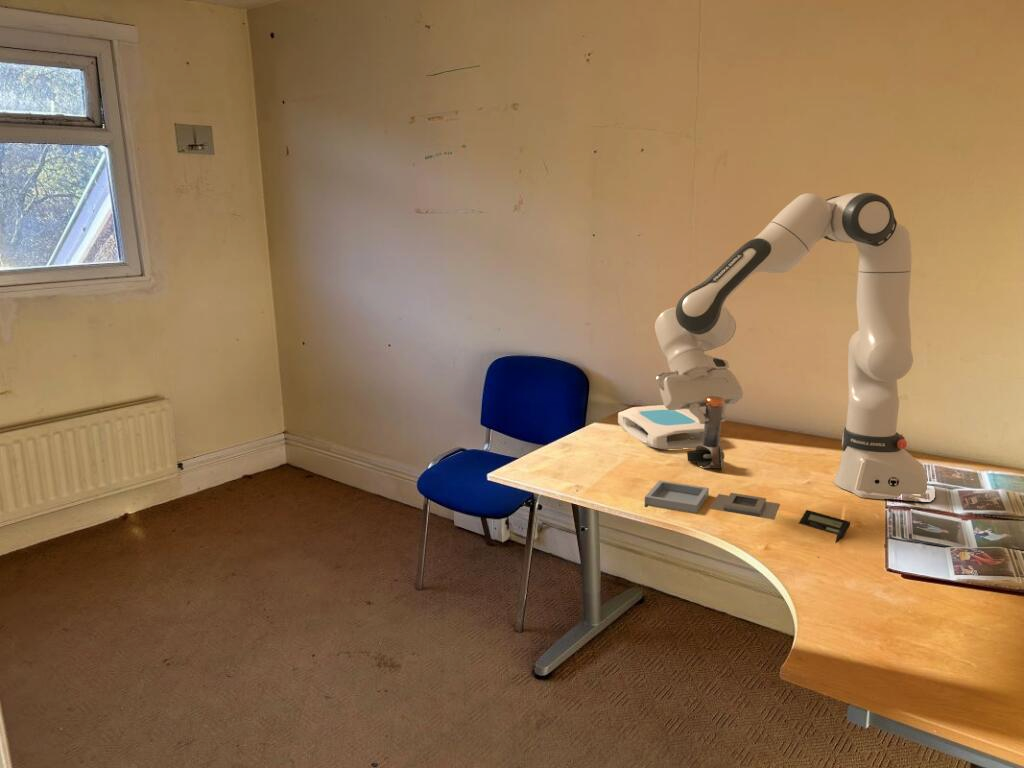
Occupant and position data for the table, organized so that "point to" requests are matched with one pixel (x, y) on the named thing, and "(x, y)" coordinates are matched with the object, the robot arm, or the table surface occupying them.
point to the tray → (677, 496)
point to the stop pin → (713, 421)
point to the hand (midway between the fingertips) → (714, 421)
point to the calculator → (825, 523)
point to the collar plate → (745, 505)
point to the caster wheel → (707, 456)
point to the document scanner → (662, 426)
